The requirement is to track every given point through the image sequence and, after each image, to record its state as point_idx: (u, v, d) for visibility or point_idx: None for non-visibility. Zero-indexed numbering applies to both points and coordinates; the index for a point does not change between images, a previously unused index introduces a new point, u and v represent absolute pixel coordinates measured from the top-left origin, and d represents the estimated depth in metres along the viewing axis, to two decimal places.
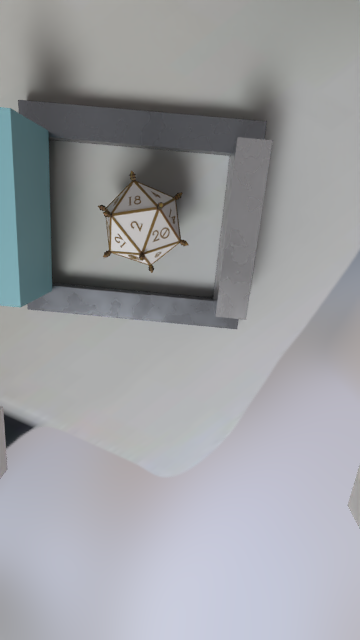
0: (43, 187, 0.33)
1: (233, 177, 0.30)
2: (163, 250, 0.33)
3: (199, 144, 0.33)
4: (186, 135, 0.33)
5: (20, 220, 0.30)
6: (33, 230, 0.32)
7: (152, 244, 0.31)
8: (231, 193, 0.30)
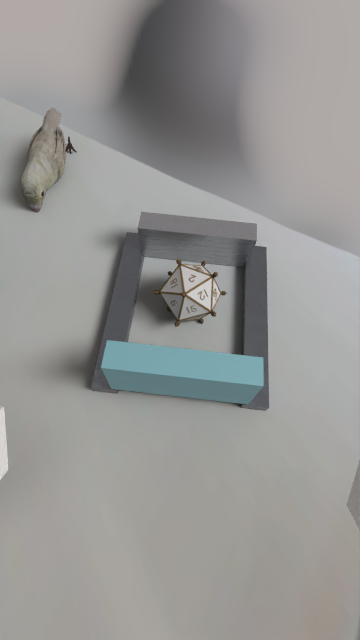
0: None
1: (161, 230, 0.46)
2: None
3: (136, 267, 0.48)
4: (130, 274, 0.48)
5: None
6: None
7: (205, 272, 0.42)
8: (171, 231, 0.46)
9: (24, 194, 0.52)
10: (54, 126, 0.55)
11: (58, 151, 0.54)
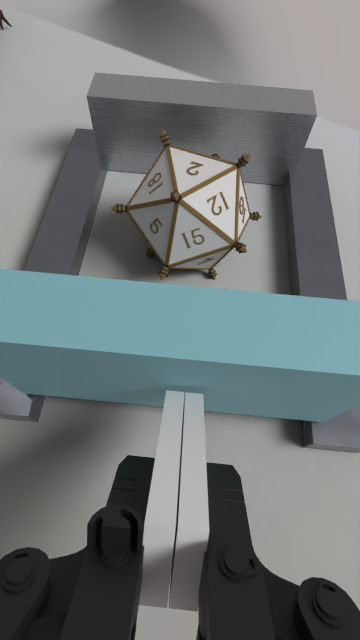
0: None
1: (132, 99, 0.24)
2: None
3: (90, 181, 0.26)
4: (77, 192, 0.26)
5: None
6: None
7: None
8: (151, 101, 0.24)
9: None
10: None
11: None
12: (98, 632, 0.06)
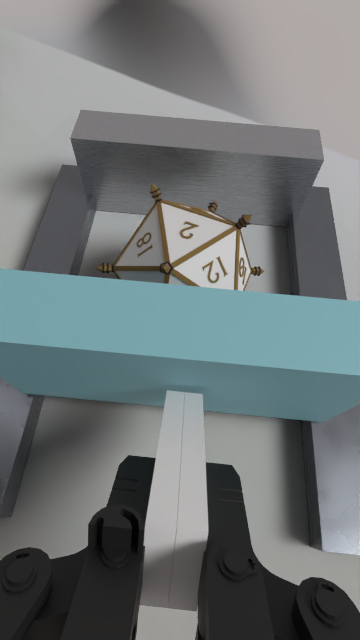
0: None
1: (120, 142, 0.22)
2: None
3: (76, 226, 0.24)
4: (61, 240, 0.23)
5: None
6: None
7: None
8: (141, 144, 0.22)
9: None
10: None
11: None
12: (99, 632, 0.06)
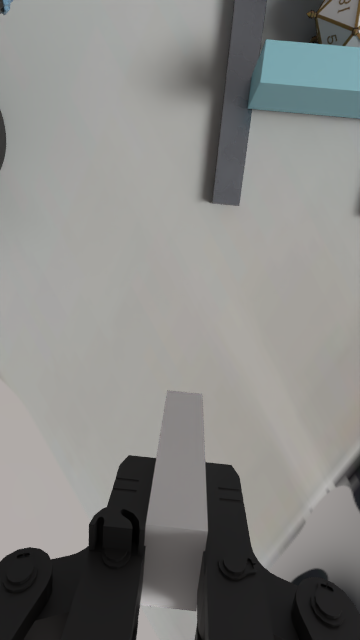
0: None
1: None
2: None
3: (260, 12, 0.33)
4: (250, 28, 0.34)
5: None
6: None
7: None
8: None
9: None
10: None
11: None
12: (100, 632, 0.06)
